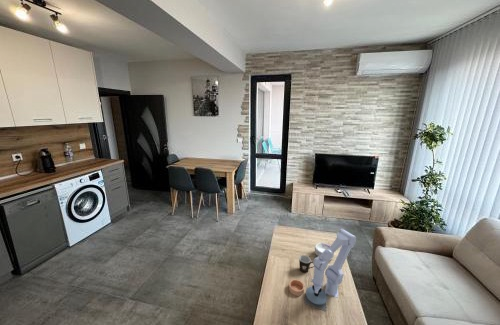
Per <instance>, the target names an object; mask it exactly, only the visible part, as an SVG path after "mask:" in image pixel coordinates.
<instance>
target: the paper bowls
mask: <svg viewBox="0 0 500 325" xmlns="http://www.w3.org/2000/svg"><path fill="white" fill-rule="evenodd" d="M330 246H331V244H328V243H325V242H317V243H316V244H315V246H314V253H315V255H316V256H317V257H319V256H320V255H321V254H322V253H323V252H324V251H325V249H329V248H330ZM333 255H335V252H334V253H333ZM333 258H334V256H333V257H332V259H333Z"/></svg>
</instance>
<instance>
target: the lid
mask: <svg viewBox="0 0 500 325" xmlns="http://www.w3.org/2000/svg"><path fill="white" fill-rule="evenodd" d="M312 286H313V285H311V286H309V287H307V288H306V290H305V296H307V298H308V299H309V300H310V301H311V302H312V303H314V304H318V305H321V304H324V303H326V304H327V302H328V301H327V300H328V294H327V295H326V293H325V290H323V289H322V291H321V292H320V293H319V295H318V297H317V296H315V295H314V290H313V289H312ZM326 301H327V302H326Z"/></svg>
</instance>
